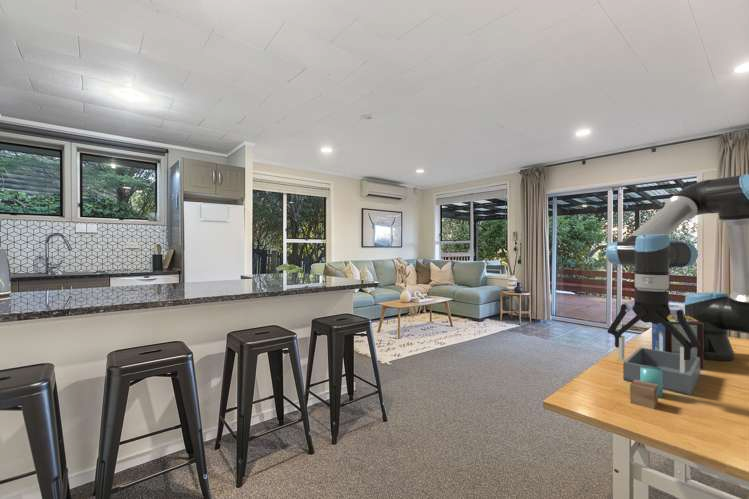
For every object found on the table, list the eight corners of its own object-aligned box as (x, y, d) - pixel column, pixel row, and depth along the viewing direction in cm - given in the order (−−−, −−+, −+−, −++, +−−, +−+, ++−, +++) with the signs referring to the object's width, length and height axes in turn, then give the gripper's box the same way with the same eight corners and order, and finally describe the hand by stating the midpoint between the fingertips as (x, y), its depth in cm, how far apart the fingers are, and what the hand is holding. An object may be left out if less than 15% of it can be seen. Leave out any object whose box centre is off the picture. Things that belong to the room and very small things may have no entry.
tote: (639, 363, 123) (639, 347, 123) (700, 375, 112) (700, 357, 112) (623, 380, 109) (623, 362, 109) (690, 395, 97) (690, 375, 97)
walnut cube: (634, 397, 97) (634, 379, 97) (657, 403, 93) (657, 384, 93) (630, 403, 94) (630, 384, 94) (653, 409, 90) (653, 390, 90)
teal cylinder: (651, 389, 102) (651, 365, 102) (667, 396, 97) (667, 371, 97) (635, 390, 101) (635, 366, 101) (651, 398, 96) (651, 372, 96)
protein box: (686, 355, 130) (686, 314, 130) (704, 369, 116) (704, 323, 116) (651, 352, 135) (651, 312, 134) (664, 365, 121) (664, 320, 120)
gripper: (596, 286, 105) (595, 357, 105) (711, 295, 87) (710, 381, 87) (603, 284, 110) (603, 352, 111) (714, 292, 92) (713, 373, 92)
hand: (650, 365), depth 99 cm, fingers open, 13 cm apart
